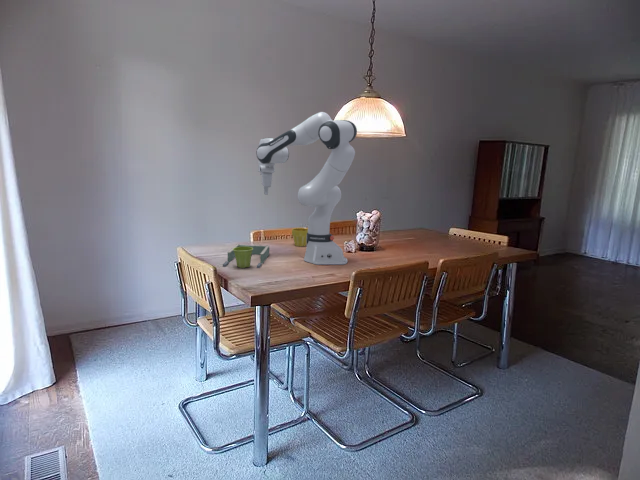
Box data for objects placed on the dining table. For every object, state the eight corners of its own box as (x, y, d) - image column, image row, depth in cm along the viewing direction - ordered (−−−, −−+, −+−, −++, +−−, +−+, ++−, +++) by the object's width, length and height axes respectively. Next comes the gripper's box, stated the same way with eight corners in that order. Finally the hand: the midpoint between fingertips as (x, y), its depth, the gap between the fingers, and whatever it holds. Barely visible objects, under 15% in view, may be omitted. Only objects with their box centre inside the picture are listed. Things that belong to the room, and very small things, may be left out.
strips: (261, 265, 211) (261, 263, 211) (259, 268, 205) (259, 266, 205) (225, 263, 211) (225, 261, 211) (222, 266, 205) (222, 264, 205)
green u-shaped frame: (269, 254, 234) (269, 245, 233) (262, 263, 214) (263, 253, 213) (236, 253, 234) (236, 244, 233) (227, 261, 214) (227, 252, 213)
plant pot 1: (250, 269, 201) (249, 251, 200) (230, 268, 203) (230, 250, 201) (256, 264, 211) (255, 246, 209) (237, 263, 212) (236, 246, 210)
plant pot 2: (288, 246, 257) (289, 229, 255) (295, 243, 267) (295, 227, 265) (305, 247, 254) (306, 231, 252) (311, 244, 264) (311, 228, 262)
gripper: (259, 167, 244) (259, 192, 247) (261, 169, 224) (261, 196, 227) (270, 168, 245) (270, 192, 248) (273, 169, 226) (273, 196, 228)
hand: (266, 194), depth 237 cm, fingers closed
